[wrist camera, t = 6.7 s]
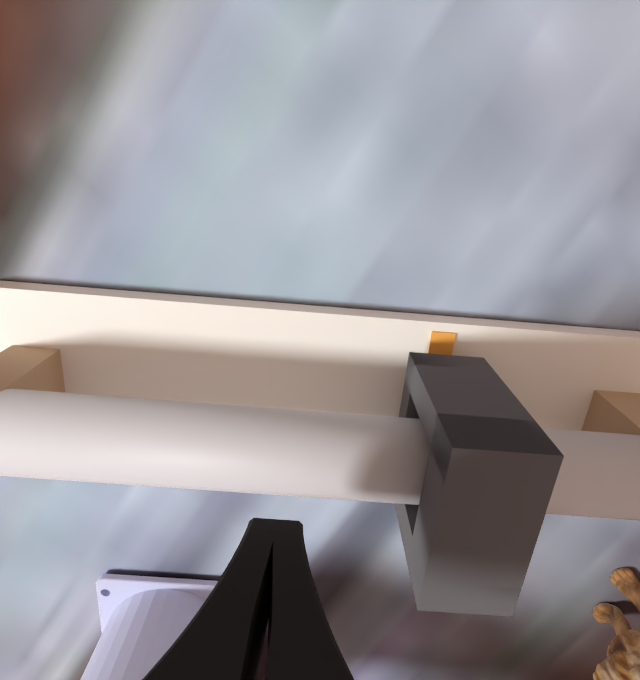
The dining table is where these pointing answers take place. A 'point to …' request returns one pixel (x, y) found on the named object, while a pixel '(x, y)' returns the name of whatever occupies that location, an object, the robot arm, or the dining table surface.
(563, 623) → the dining table surface
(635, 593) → the lion figurine
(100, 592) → the robot arm
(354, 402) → the pipe stand
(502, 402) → the collar
